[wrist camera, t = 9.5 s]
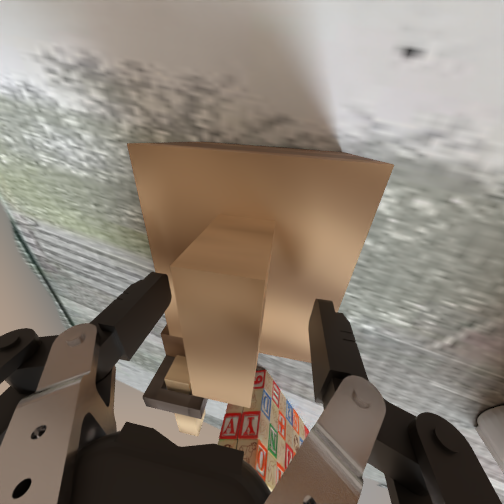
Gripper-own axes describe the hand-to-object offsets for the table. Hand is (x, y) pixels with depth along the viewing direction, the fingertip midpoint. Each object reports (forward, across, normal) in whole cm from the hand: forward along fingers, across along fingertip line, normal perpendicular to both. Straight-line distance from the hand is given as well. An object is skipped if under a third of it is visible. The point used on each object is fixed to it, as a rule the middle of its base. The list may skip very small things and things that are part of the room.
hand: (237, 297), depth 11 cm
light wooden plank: (+1, +5, +14) cm, 15 cm away
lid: (+4, 0, 0) cm, 4 cm away
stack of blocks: (+12, -6, +36) cm, 39 cm away
